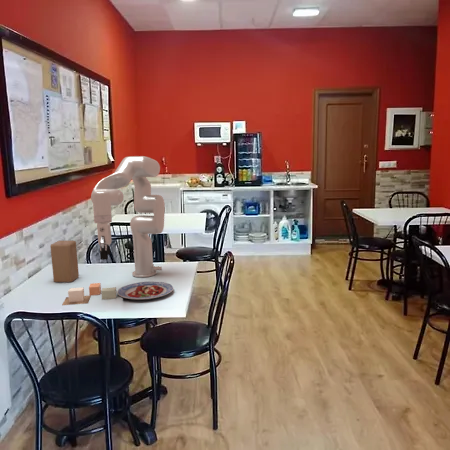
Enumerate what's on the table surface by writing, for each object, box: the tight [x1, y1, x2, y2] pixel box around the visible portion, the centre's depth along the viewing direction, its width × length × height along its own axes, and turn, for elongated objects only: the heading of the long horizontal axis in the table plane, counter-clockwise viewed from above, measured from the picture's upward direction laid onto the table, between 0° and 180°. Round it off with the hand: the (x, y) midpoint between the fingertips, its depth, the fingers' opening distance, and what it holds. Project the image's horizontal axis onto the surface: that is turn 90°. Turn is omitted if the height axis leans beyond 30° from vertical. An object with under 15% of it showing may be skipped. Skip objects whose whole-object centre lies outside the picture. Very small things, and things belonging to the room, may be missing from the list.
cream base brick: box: [67, 287, 85, 302], centre depth 212 cm, size 6×4×5 cm
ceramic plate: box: [116, 280, 174, 301], centre depth 222 cm, size 26×26×3 cm
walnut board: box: [62, 294, 92, 306], centre depth 212 cm, size 11×11×1 cm
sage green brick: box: [101, 287, 118, 300], centre depth 215 cm, size 6×4×5 cm
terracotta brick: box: [88, 282, 102, 296], centre depth 222 cm, size 6×4×5 cm
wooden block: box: [50, 240, 80, 283], centre depth 247 cm, size 10×10×20 cm
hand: (105, 257), depth 213 cm, fingers open, 9 cm apart
